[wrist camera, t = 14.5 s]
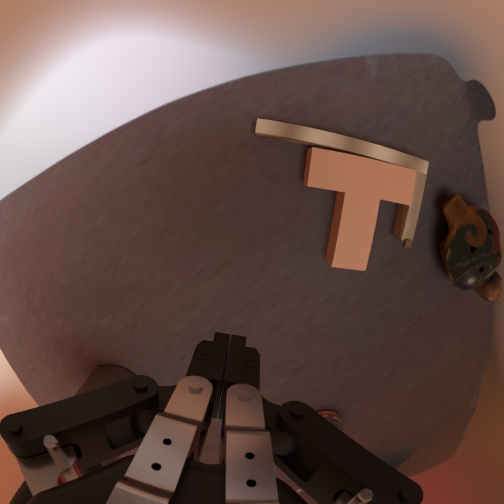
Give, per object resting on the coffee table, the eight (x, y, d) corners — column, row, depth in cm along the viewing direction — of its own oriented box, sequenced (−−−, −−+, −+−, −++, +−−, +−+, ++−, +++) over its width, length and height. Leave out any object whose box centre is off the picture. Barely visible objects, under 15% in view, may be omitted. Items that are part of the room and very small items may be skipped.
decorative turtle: (453, 301, 35) (479, 326, 27) (407, 221, 33) (435, 234, 25) (495, 261, 32) (525, 278, 25) (455, 177, 30) (489, 180, 23)
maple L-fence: (243, 210, 33) (241, 215, 29) (258, 122, 30) (257, 117, 26) (400, 240, 33) (412, 248, 29) (416, 161, 30) (431, 161, 26)
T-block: (292, 252, 34) (295, 262, 30) (307, 149, 30) (312, 147, 27) (385, 264, 34) (395, 274, 30) (403, 169, 30) (416, 170, 27)
